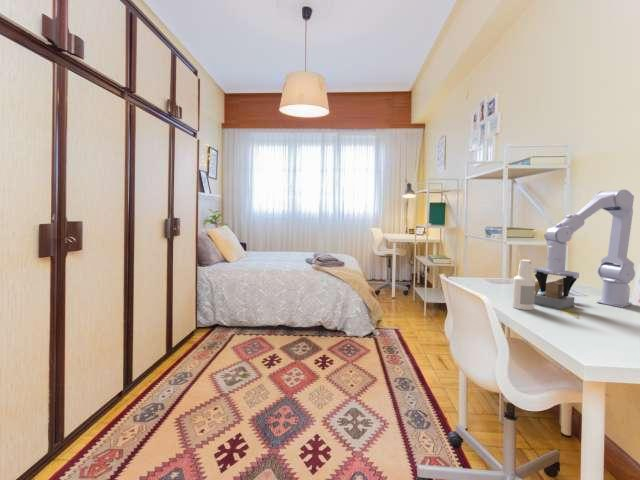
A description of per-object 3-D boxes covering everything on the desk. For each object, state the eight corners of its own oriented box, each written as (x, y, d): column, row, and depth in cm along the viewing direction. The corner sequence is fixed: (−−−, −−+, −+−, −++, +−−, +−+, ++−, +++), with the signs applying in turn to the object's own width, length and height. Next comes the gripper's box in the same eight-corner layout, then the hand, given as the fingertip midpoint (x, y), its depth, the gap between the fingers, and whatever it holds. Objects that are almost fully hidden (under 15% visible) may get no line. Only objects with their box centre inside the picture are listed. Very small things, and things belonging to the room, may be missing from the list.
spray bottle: (530, 311, 115) (532, 262, 113) (509, 307, 120) (511, 260, 119) (536, 308, 119) (538, 260, 118) (515, 304, 124) (518, 258, 123)
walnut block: (550, 301, 126) (551, 281, 125) (561, 304, 122) (563, 283, 122) (545, 303, 124) (546, 282, 123) (556, 305, 120) (558, 284, 120)
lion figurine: (569, 300, 131) (570, 278, 130) (567, 302, 127) (568, 280, 126) (527, 294, 141) (528, 273, 140) (524, 296, 137) (525, 275, 136)
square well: (546, 300, 130) (546, 292, 129) (573, 306, 121) (574, 297, 121) (533, 303, 125) (534, 295, 125) (561, 310, 117) (562, 300, 116)
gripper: (530, 257, 126) (528, 291, 127) (573, 261, 114) (571, 299, 115) (539, 256, 130) (537, 289, 131) (582, 260, 117) (580, 296, 118)
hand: (554, 293), depth 123 cm, fingers open, 7 cm apart
